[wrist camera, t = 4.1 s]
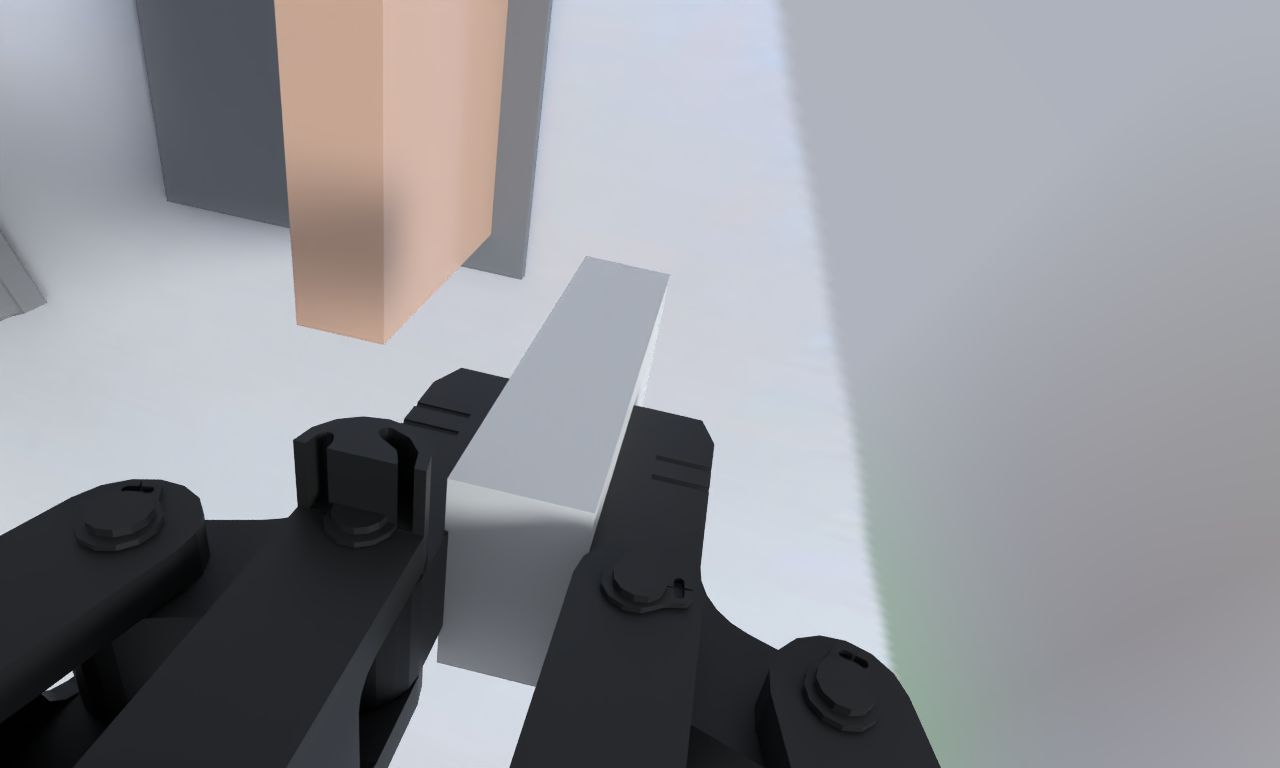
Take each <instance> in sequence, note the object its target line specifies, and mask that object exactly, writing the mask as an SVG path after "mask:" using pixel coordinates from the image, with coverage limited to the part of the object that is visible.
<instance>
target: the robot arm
mask: <svg viewBox="0 0 1280 768" xmlns="http://www.w3.org/2000/svg"><path fill="white" fill-rule="evenodd" d="M669 278H670V275H669V274H664V273H660V272H655V271H651V270H646V269H642V268H637V267H633V266H628V265H624V264H619V263H615V262H610V261H606V260H601V259H597V258H592V257H588V256H586V257H585V259H584V260H583V262H582V264H581V265H580V267H579V268H578V270H577V272H576V273H575V275H574V276H573V278H572V280H571V281H570V283H569V284H568V286H567V288H566V289H565V291H564V292H563V294H562V296H561V297H560V299H559V300H558V302H557V304H556V305H555V307H554V309H553V310H552V312H551V313H550V315H549V317H548V318H547V320H546V321H545V323H544V325H543V326H542V328H541V329H540V331H539V333H538V334H537V336H536V337H535V339H534V341H533V342H532V344H531V345H530V347H529V349H528V350H527V352H526V353H525V355H524V357H523V358H522V360H521V361H520V363H519V365H518V366H517V368H516V369H515V371H514V373H513V374H512V376H511V377H510V379H508V378H503V377H499V376H495V375H490V374H486V373H482V372H477V371H473V370H469V369H464V368H460V369H458V370H456V371H454V372H452V373H450V374H448V375H447V376H445V377H443V378H441V379H439V380H437V381H435V382H433V384H432V385H431V386H430V387H429V389H428V390H427V391H426V392H425V394H424V395H423V396H422V397H421V399H420V400H419V401H418V404H417V406H414V407H413V409H412V410H411V411H410V412H409V414H408V415H407V416H406V417H405V419H404V423H401V424H400V423H398V422H395V421H392V420H390V419H381V418H372V417H353V418H343V419H336V420H332V421H329V422H326V423H323V424H320V425H317V426H314V427H312V428H310V429H309V430H307V431H306V432H304V433H303V434H301V435H300V436H298V437H297V438H296V439H294V440H293V446H294V460H295V474H296V488H297V502H298V507H297V508H296V509H295V510H294V512H293V513H292V514H291V515H290V516H289V517H288V518H282V519H269V520H205V518H204V513H203V509H202V505H201V502H200V498H199V497H198V496H196V495H195V494H194V493H193V492H191V491H190V490H189V489H187V488H186V487H185V486H182V485H179V484H175V483H171V482H168V481H164V480H148V479H131V480H126V481H121V482H116V483H110V484H105V485H100V486H98V487H96V488H93V489H91V490H88V491H86V492H83V493H81V494H78V495H76V496H73V497H71V498H69V499H67V500H66V501H64V502H62V503H60V504H58V505H56V506H54V507H53V508H51V509H49V510H47V511H45V512H43V513H42V514H40V515H38V516H36V517H34V518H32V519H30V520H29V521H27V522H25V523H23V524H21V525H19V526H17V527H16V528H14V529H12V530H10V531H8V532H6V533H5V534H3V535H1V536H0V768H388V766H389V764H390V762H391V760H392V758H393V755H394V753H395V751H396V749H397V747H398V745H399V743H400V741H401V738H402V736H403V734H404V732H405V730H406V728H407V726H408V724H409V721H410V719H411V717H412V715H413V713H414V711H415V709H416V707H417V704H418V700H419V696H420V691H421V687H422V670H423V665H424V663H425V661H426V659H427V657H428V655H429V653H430V651H431V649H432V647H433V645H434V642H435V640H436V638H437V636H438V652H437V662H438V663H442V664H446V665H450V666H454V667H458V668H462V669H466V670H470V671H474V672H478V673H482V674H486V675H490V676H495V677H499V678H503V679H507V680H511V681H515V682H519V683H523V684H527V685H531V686H535V687H536V688H535V691H534V694H533V697H532V700H531V703H530V706H529V709H528V712H527V715H526V719H525V722H524V725H523V728H522V731H521V734H520V737H519V740H518V743H517V746H516V749H515V752H514V755H513V758H512V762H511V765H510V768H941V767H940V765H939V763H938V760H937V758H936V756H935V754H934V752H933V749H932V747H931V745H930V743H929V740H928V738H927V736H926V734H925V731H924V729H923V727H922V725H921V722H920V720H919V718H918V716H917V713H916V711H915V709H914V707H913V705H912V702H911V700H910V698H909V696H908V695H907V693H906V692H905V690H904V688H903V687H902V685H901V684H900V682H899V681H898V679H897V678H896V676H895V675H894V673H893V672H891V671H890V670H889V669H888V668H887V667H886V666H885V665H883V664H882V663H881V662H880V661H879V660H878V659H877V658H875V657H874V656H873V655H872V654H870V653H868V652H867V651H865V650H863V649H861V648H859V647H857V646H855V645H853V644H851V643H849V642H847V641H844V640H839V639H834V638H829V637H825V636H812V637H804V638H796V639H795V640H793V641H792V642H790V643H788V644H787V645H785V646H784V647H782V648H781V649H779V650H777V649H775V648H773V647H771V646H769V645H768V644H766V643H764V642H762V641H760V640H758V639H756V638H754V637H752V636H751V635H749V634H747V633H746V632H744V631H742V630H741V629H739V628H738V627H736V626H735V625H733V624H732V623H730V622H729V621H728V620H727V619H726V618H725V617H724V616H723V615H722V614H721V613H720V612H719V611H718V610H717V609H716V608H715V606H714V605H713V603H712V602H711V601H710V599H709V598H708V596H707V595H706V592H705V589H704V587H703V584H702V581H701V568H700V566H701V557H702V548H703V539H704V531H705V522H706V513H707V504H708V495H709V492H708V491H709V486H710V477H711V468H712V459H713V451H714V443H713V441H712V439H711V437H710V435H709V433H708V431H707V429H706V427H705V425H704V423H703V421H701V420H697V419H693V418H688V417H684V416H680V415H675V414H671V413H667V412H662V411H658V410H654V409H649V408H645V407H643V403H644V398H645V393H646V388H647V384H648V379H649V374H650V369H651V364H652V360H653V355H654V350H655V345H656V341H657V336H658V331H659V326H660V321H661V317H662V312H663V307H664V302H665V298H666V293H667V288H668V283H669ZM438 634H439V635H438ZM71 671H73V674H74V677H72V678H71V679H69V680H68V681H66V682H64V683H63V684H61V685H59V686H57V687H55V688H53V689H51V690H48V691H45V690H47V689H48V688H49V687H51V686H52V685H54V684H55V683H56V682H58V681H59V680H60V679H62V678H63V677H64V676H66V675H67V674H69V673H70V672H71Z"/></svg>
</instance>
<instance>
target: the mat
mask: <svg viewBox="0 0 1280 768" xmlns="http://www.w3.org/2000/svg"><path fill="white" fill-rule="evenodd" d="M136 4H137V10H138V17H139V23H140V29H141V36H142V42H143V49H144V55H145V62H146V68H147V75H148V81H149V88H150V94H151V101H152V107H153V113H154V120H155V126H156V133H157V139H158V146H159V152H160V159H161V165H162V172H163V178H164V185H165V191H166V197H167V201H170V202H174V203H179V204H183V205H188V206H192V207H197V208H201V209H206V210H210V211H215V212H219V213H224V214H228V215H233V216H237V217H242V218H246V219H251V220H255V221H260V222H264V223H269V224H273V225H278V226H282V227H287V228H290V220H289V205H288V191H287V177H286V162H285V148H284V134H283V119H282V105H281V91H280V76H279V62H278V48H277V34H276V19H275V5H274V0H136ZM551 9H552V0H508V10H507V23H506V37H505V51H504V64H503V78H502V91H501V105H500V118H499V132H498V145H497V159H496V172H495V186H494V199H493V213H492V226H491V235H490V236H489V237H488V238H487V239H486V240H485V241H484V242H483V243H482V244H481V245H480V246H479V247H478V248H477V249H476V250H475V251H474V252H473V254H472V255H471V256H470V257H469V258H468V259H467V260H466V261H465V262H464V263H463V264H462V265H461V266H462V267H467V268H471V269H476V270H480V271H485V272H489V273H494V274H498V275H503V276H507V277H512V278H516V279H521V280H522V278H523V277H524V276H525V266H526V256H527V246H528V236H529V226H530V216H531V206H532V197H533V187H534V177H535V167H536V157H537V147H538V137H539V127H540V117H541V108H542V98H543V88H544V78H545V68H546V58H547V48H548V38H549V28H550V19H551Z"/></svg>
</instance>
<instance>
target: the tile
mask: <svg viewBox="0 0 1280 768" xmlns="http://www.w3.org/2000/svg"><path fill="white" fill-rule="evenodd" d="M274 5H275V19H276V34H277V48H278V62H279V76H280V91H281V105H282V119H283V134H284V148H285V162H286V177H287V191H288V205H289V220H290V234H291V248H292V263H293V277H294V291H295V306H296V320H297V325H300V326H304V327H309V328H313V329H317V330H322V331H326V332H331V333H335V334H339V335H344V336H348V337H353V338H357V339H361V340H366V341H370V342H375V343H379V344H383V345H384V344H385V343H386V342H387V341H388V340H389V339H390V338H391V337H392V336H393V335H394V334H395V333H396V332H397V331H398V330H399V329H400V328H401V327H402V326H403V324H404V323H405V322H406V321H407V320H408V319H409V318H410V317H411V316H412V315H413V314H414V313H415V312H416V311H417V310H418V309H419V308H420V307H421V306H422V305H423V304H424V303H425V302H426V301H427V300H428V299H429V298H430V297H431V296H432V295H433V294H434V293H435V292H436V291H437V290H438V288H439V287H440V286H441V285H442V284H443V283H444V282H445V281H446V280H447V279H448V278H449V277H450V276H451V275H452V274H453V273H454V272H455V271H456V270H457V269H458V268H459V267H460V266H461V265H462V264H463V263H464V262H465V261H466V260H467V259H468V258H469V257H470V256H471V255H472V254H473V252H474V251H475V250H476V249H477V248H478V247H479V246H480V245H481V244H482V243H483V242H484V241H485V240H486V239H487V238H488V237H489V236H490V235H491V226H492V213H493V199H494V186H495V172H496V159H497V145H498V132H499V118H500V105H501V91H502V78H503V64H504V51H505V37H506V23H507V10H508V0H274Z"/></svg>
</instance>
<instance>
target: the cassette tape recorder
mask: <svg viewBox="0 0 1280 768" xmlns="http://www.w3.org/2000/svg"><path fill="white" fill-rule="evenodd" d="M45 303H47V302H46V300H45V299H44V297H43V296H42V294H41V293H40V291H39V290H38V288H37V287H36V285H35V284H34V282H33V281H32V279H31V277H30V276H29V274H28V273H27V271H26V270H25V268H24V267H23V265H22V264H21V262H20V261H19V259H18V258H17V256H16V255H15V253H14V252H13V250H12V249H11V247H10V246H9V244H8V243H7V241H6V240H5V238H4V237H3V235H2V234H1V232H0V321H2V320H4V319H6V318H8V317H11V316H15V315H20V314H24V313H27V312H29V311H31V310H33V309H35V308H37V307H39V306H41V305H43V304H45Z"/></svg>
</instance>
